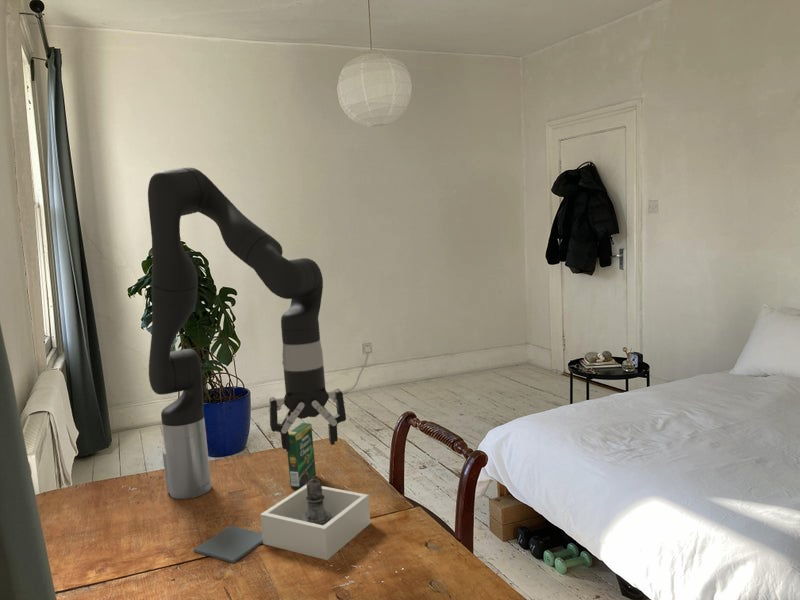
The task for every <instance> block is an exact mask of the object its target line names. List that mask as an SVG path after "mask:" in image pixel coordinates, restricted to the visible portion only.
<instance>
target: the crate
mask: <svg viewBox="0 0 800 600" xmlns="http://www.w3.org/2000/svg"><path fill="white" fill-rule="evenodd" d="M322 495H324V499H323V505H324V509H325V510H328V511H329V512H331V514H332V516H331V518H330V521H329V522H327V523H326V524H325V525H319V524H315V523H310V522H306V521H302V516H303V515H304V514H305V513H306V512H308V501H306V497H307V483H306V484H305V485H304V486H302V487H301V488H298V489H297V490H295V491H293V492H292V493H291V494H289V495H287V497H285V498H284V499H282V500H281V501H279V502H277V503H275V504H274V505H273V506H271V507H269V508H268V509H267V510H265V511H263V512H261V513H260V526H261V533H262V537H263V542H262V544H263V545H267V546H271V547H274V548H277V549H282V550H285V551H289V552H294V553H296V554H297V553H298V554H302V555H306V556H309V557H313V558H317V559H321V560H324V561H328V560H329V559H331V558H332V557H333V556H334V555H335V554H336V553H337V552H339V551H340V550H341V549H342V548H343V547H344V546H346V545H347V544H348V543H350V541H352V540H353V539H354V538H356V536H358V534H359V533H361V532H362V531H363V530H365V528H366V527H368V526H369V525H371V512H370V499H369V497H370V495H369V494H366V493H360V492H355V491H351V490H350V491H349V490H345V489H340V488H333V487H329V486H323V485H322Z"/></svg>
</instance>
